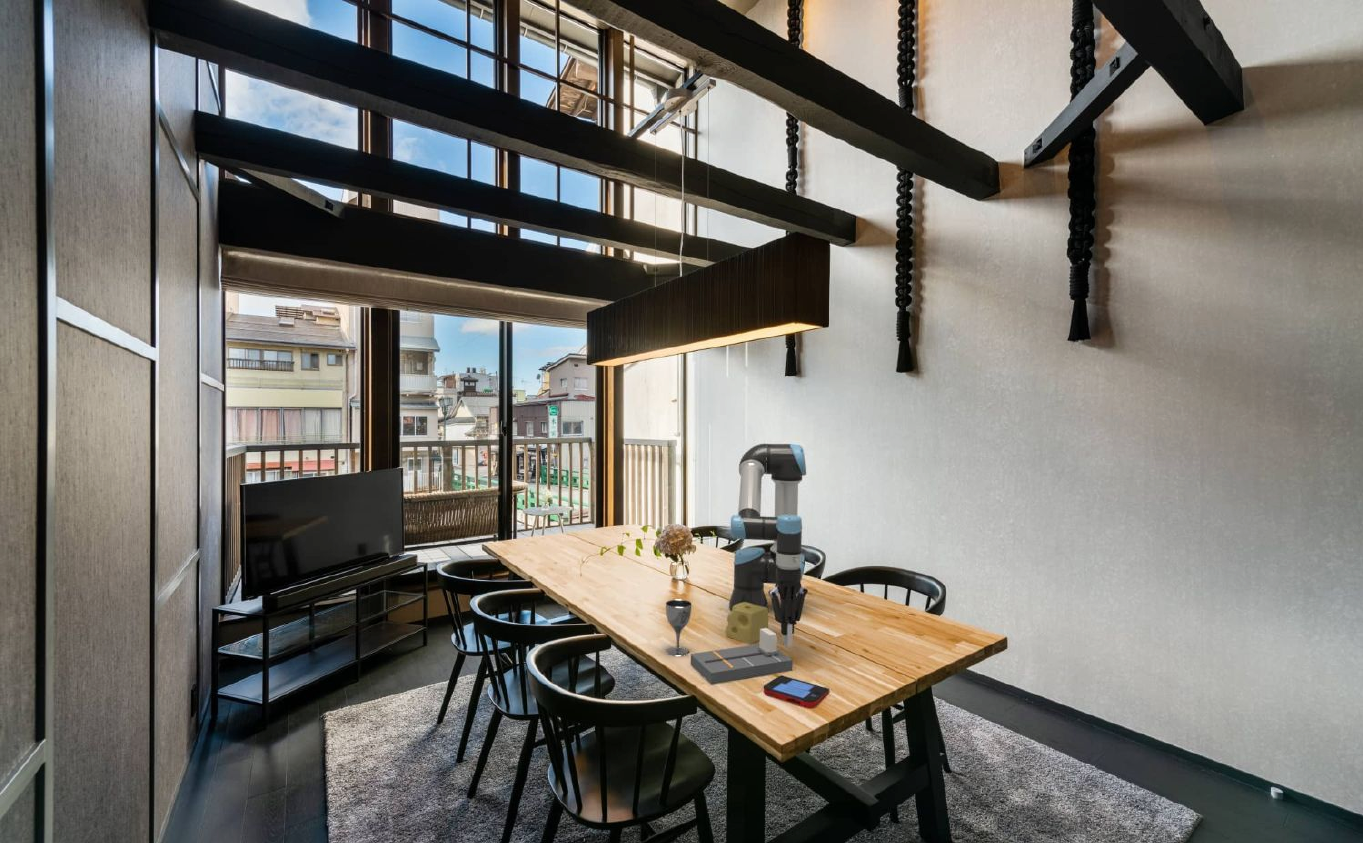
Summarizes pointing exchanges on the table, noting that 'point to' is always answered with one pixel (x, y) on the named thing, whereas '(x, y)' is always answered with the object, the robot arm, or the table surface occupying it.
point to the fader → (768, 642)
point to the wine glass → (678, 621)
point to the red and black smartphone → (795, 691)
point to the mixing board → (738, 663)
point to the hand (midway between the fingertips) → (787, 645)
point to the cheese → (746, 622)
